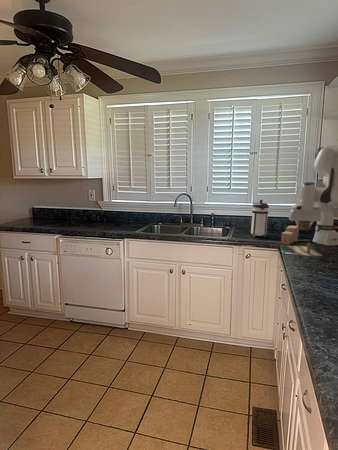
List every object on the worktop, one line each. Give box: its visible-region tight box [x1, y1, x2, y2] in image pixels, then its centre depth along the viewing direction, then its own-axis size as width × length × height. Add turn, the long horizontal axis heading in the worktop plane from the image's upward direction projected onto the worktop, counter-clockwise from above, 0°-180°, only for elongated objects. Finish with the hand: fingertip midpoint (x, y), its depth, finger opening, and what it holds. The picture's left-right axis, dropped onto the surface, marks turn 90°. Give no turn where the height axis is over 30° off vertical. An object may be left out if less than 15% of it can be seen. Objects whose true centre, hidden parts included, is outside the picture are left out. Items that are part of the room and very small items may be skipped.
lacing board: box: [287, 242, 324, 259], centre depth 206 cm, size 14×24×8 cm, turn 1°
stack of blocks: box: [280, 225, 300, 246], centre depth 231 cm, size 21×6×12 cm, turn 142°
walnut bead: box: [297, 221, 312, 231], centre depth 208 cm, size 6×6×4 cm
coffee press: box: [249, 199, 270, 239], centre depth 252 cm, size 17×16×30 cm
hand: (303, 227), depth 208 cm, fingers closed on walnut bead, 6 cm apart
